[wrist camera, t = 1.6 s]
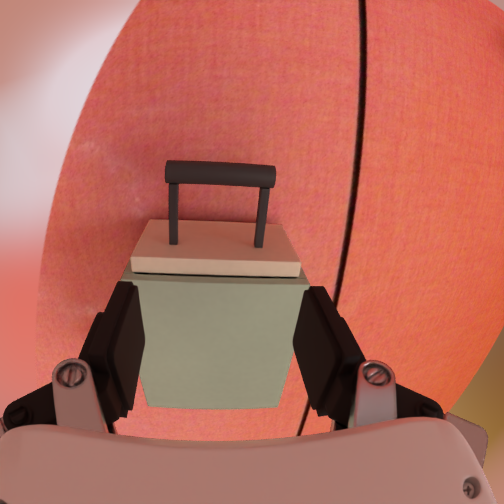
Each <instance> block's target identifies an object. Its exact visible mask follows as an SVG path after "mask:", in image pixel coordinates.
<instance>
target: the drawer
mask: <svg viewBox="0 0 504 504" xmlns="http://www.w3.org/2000/svg"><path fill="white" fill-rule="evenodd" d="M275 181H276V168H275V166H270V165H258V164H245V163H229V162H209V161H177V160H167V162H166V166H165V182H166V183H169V220H160V219H150V220H149V221H148V223H147V225H146V227H145V229H144V231H143V233H142V235H141V237H140V239H139V241H138V242H137V244H136V246H135V248H134V250H133V252H132V254H131V257H130V259H131V269H132V272H145V273H149V274H148V275H170V276H197V277H230V278H276V279H281V278H280V277H299V273H300V268H301V260H300V258H299V257H298V255H297V253H296V251H295V249H294V247H293V245H292V243H291V241H290V239H289V238H288V236H287V234H286V232H285V230H284V228H283V226H282V225H281V224H266V217H267V209H268V201H269V193H270V189H269V188H273V187H274V185H275ZM179 184H208V185H230V186H247V187H260V191H259V200H258V209H257V218H256V223H243V222H220V221H193V220H178V194H179Z"/></svg>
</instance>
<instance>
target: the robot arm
mask: <svg viewBox="0 0 504 504" xmlns="http://www.w3.org/2000/svg"><path fill="white" fill-rule="evenodd" d="M292 343H293V349H294V352H295V355H296V358H297V362H298V365H299V368H300V371H301V375H302V378H303V381H304V384H305V388H306V391H307V394H308V398H309V401H310V404H311V407H312V409H313V410H315V409H316V411H317V414H318V417H319V416H326V415H328V417H329V418H331V419H332V423H331V428H330V432H326V433H319V434H312V435H304V436H296V437H287V438H276V439H263V440H245V441H185V440H166V439H154V438H143V437H134V436H126V435H118V433H117V430H116V427H115V424H114V422H115V421H117V420H118V419H119V417H125V418H127V413H128V410H132V409H133V404H134V398H135V393H136V387H137V382H138V376H139V371H140V366H141V361H142V356H143V352H144V347H145V332H144V326H143V320H142V313H141V306H140V299H139V291H138V286H137V285H133V282H132V281H118V282H117V284H116V287H115V289H114V291H113V293H112V295H111V298H110V300H109V302H108V305H107V307H106V309H105V311H104V312H99V313H97V315H96V317H95V319H94V321H93V324H92V326H91V328H90V331H89V333H88V335H87V338H86V340H85V343H84V345H83V347H82V350H81V352H80V355H79V357H78V359H76V358H71V359H67V360H64V361H62V362H60V363H59V364H58V365H57V366H56V367H55V368H54V370H53V373H52V382H51V383H49V384H47V385H45V386H43V387H41V388H39V389H37V390H35V391H33V392H32V393H29V394H27V395H25V396H23V397H21V398H20V399H17V400H16V401H13V402H12V403H11V404H9V405H8V406H7V408H6V409H5V411H4V414H3V417H2V418H0V504H497V502H496V500H495V497H494V495H493V493H492V490H491V488H490V485H489V483H488V481H487V479H486V476H485V474H484V472H483V470H482V468H483V464H484V459H485V454H486V449H487V444H488V435H487V433H486V431H485V430H484V429H483V428H482V427H480V426H479V425H476V424H474V423H471V422H469V421H467V420H465V419H462V418H460V417H458V416H455V415H453V414H451V413H449V412H447V413H446V414H443V410H442V408H441V407H440V405H439V404H438V403H437V402H435V401H434V400H432V399H430V398H428V397H425V396H423V395H421V394H419V393H416V392H414V391H412V390H410V389H408V388H405V387H403V386H401V385H399V384H397V383H396V381H395V374H394V372H393V370H392V369H391V368H390V367H389V366H388V365H387V364H385V363H383V362H381V361H378V360H368V361H366V359H365V357H364V355H363V353H362V351H361V349H360V347H359V345H358V344H357V342H356V340H355V338H354V336H353V334H352V332H351V330H350V329H349V327H348V325H347V323H346V321H345V320H344V318H343V317H340V315H339V313H338V311H337V309H336V308H335V306H334V304H333V302H332V300H331V298H330V297H329V295H328V293H327V291H326V289H325V288H324V287H323V286H310V287H309V288H308V290H305V291H304V293H303V298H302V302H301V306H300V310H299V315H298V319H297V323H296V327H295V331H294V335H293V341H292Z"/></svg>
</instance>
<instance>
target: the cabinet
mask: <svg viewBox="0 0 504 504" xmlns="http://www.w3.org/2000/svg"><path fill="white" fill-rule="evenodd" d="M148 274H149V273H145V272H132V269H131V259H130V260H129V262H128V264H127V266H126V268H125V270H124V272H123V275H122V277H121V279H120V280H121V281H132V282H133V285H137V286H138V291H139V299H140V306H141V313H142V320H143V326H144V332H145V347H144V352H143V356H142V361H141V366H140V371H139V375H140V379H141V383H142V387H143V390H144V394H145V397H146V401H147V404H148V406H151V407H164V408H182V409H257V408H274V407H278V404H279V401H280V398H281V394H282V391H283V388H284V384H285V381H286V377H287V374H288V370H289V367H290V363H291V359H292V356H293V352H294V349H293V343H292V341H293V335H294V331H295V327H296V323H297V319H298V315H299V310H300V306H301V302H302V298H303V293H304V291H305V290H308V288H309V287H310V283H309V281H308V279H307V277H306V275H305V273H304V271H303V269H302V267H301V268H300V273H299V277H280V278H281V279H276V278H230V277H197V276H170V275H148Z"/></svg>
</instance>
